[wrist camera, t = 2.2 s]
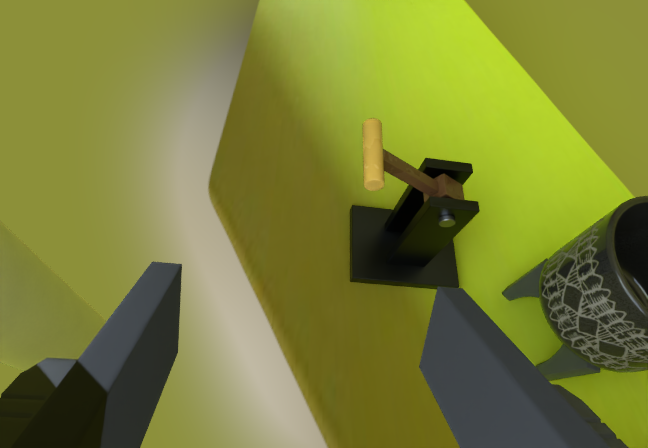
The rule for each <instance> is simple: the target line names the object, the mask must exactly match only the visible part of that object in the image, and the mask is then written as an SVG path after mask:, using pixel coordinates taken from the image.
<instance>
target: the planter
mask: <svg viewBox="0 0 648 448" xmlns="http://www.w3.org/2000/svg"><path fill="white" fill-rule="evenodd" d="M502 294H503V295H504V296H505V297H506V298H507V299H508V300H509V301H510V300H513V299H516V298H519V297H529V296H531V297H538V298H539V299H540V303H541V307H542V310H543V313H544V315H545V318H546V320H547V322H548V323H549V325H550V327H551V329H552V330H553V332H554V333H555V334H556V336H557V337H558V338H559V339H560V341H561V342H562V343H563V345H562V346H561V348H560V349H559V350H558V352H557V353H556V354H555V355H553V356H552V357H551V358H550V359H549V360H547V361H546V362H544V363H541V364H539V365H537V366H536V368H537V369H538V370H539V371H540V372H541V374H542V375H543V376H544V377H545V378H546V379H547V380H548V381H549V380H555V379H561V378H568V377H574V376H580V375H586V374H593V373H599V372H600V368H601V369H604V370H608V371H614V372H637V371H645V370H648V196H643V197H636V198H633V199H630V200H628V201H626V202H624V203H622V204H620V205H619V206H618V207H616V208H615V209H614V210H612V211H611V212H610V213H608V214H607V215H605V216H604V217H603V218H601V219H600V220H599V221H597V222H596V223H594V224H593V225H592V226H590V227H589V228H588V229H586V230H585V231H584V232H582V233H581V234H579V235H578V236H577V237H575V238H574V239H573V240H571V241H570V242H569V243H567V244H566V245H564V246H563V247H562V248H560V249H559V250H558V251H556V252H555V253H554V254H553V255H552V256H551V257H550V258H549V259H545V260H544V261H542V262H541V263H540V264H538V265H537V266H535V267H534V268H533V269H531V270H530V271H529V272H527V273H526V274H525V275H523V276H522V277H520V278H519V279H518V280H516V281H515V282H514V283H512V284H511V285H509V286H508V287H507V288H506V289H505V290H504V291H503V292H502Z"/></svg>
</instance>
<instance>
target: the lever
mask: <svg viewBox="0 0 648 448" xmlns="http://www.w3.org/2000/svg"><path fill="white" fill-rule="evenodd" d="M363 170H364V187H365V188H366V189H367V190H371V191H376V190H380V189H382V188H383V187H384V185H385V183H384V171H386V172H388V173H389V174H391V175H393V176H395V177H397V178H398V179H400V180H402V181H404V182H405V183H407V184H409V185H411V186H413V187H414V188H416V189H418V190H420V191H421V192H423V195H424V203H425V202H426V200H427V199H428V198H429V196H434V197H443V198H451V199H460V200H464V193H463V187H462V184H460V183H458V182H457V181H455V180H454V179H452V178H450V177H449V176H447V175H446V174H441V175H440V176H438V177H436V178H434V179H432V178H431V177H429V176H427V175H426V174H424V173H422V172H421V171H419V170H418V169H416V168H414V167H413V166H411V165H409V164H408V163H406V162H404V161H403V160H401V159H399V158H398V157H396V156H394V155H393V154H391V153H389V152H388V151H386V150H384V149H383V141H382V123H381V122H380V120H378V119H375V118H370V119H367V120H365V121H364V123H363Z"/></svg>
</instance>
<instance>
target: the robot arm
mask: <svg viewBox="0 0 648 448" xmlns="http://www.w3.org/2000/svg"><path fill="white" fill-rule="evenodd" d="M181 270H182V264H174V263H162V262H152V263H151V264H150V266H149V267H148V268H147V269H146V271H145V272H144V273H143V275H142V276H141V277H140V279H139V280H138V281H137V283H136V284H135V285H134V287H133V288H132V289H131V290H130V292H129V293H128V294H127V296H126V297H125V298H124V300H123V301H122V302H121V304H120V305H119V306H118V308H117V309H116V310H115V311H114V313H113V314H112V315H111V317H110V318H109V319H108V321H107V322H106V323H105V324H104V326H103V327H102V328H101V330H100V331H99V332H98V334H97V335H96V336H95V338H94V339H93V340H92V342H91V343H90V344H89V345H88V347H87V348H86V349H85V351H84V352H83V353H82V355H81V356H80V357H79V359H63V358H46V359H44V360H42V361H41V362H39V363H37V364H36V365H34V366H32V367H31V368H29V369H27V370H26V371H24V372H22V373H21V374H20V375H19V376H18V377H17V378H16V379H15V380H14V381H13V382H12V384H10V386H9V387H8V388H7V389H6V390H5V391H4V392H3V393H2V394H1V398H0V448H140V446H141V444H142V441H143V438H144V436H145V434H146V431H147V429H148V426H149V423H150V421H151V418H152V416H153V413H154V411H155V408H156V406H157V403H158V401H159V398H160V396H161V393H162V391H163V388H164V386H165V383H166V381H167V378H168V376H169V373H170V371H171V368H172V366H173V363H174V361H175V358H176V356H177V353H178V338H179V314H180V292H181ZM419 367H420V369H421V371H422V373H423V375H424V377H425V379H426V381H427V383H428V385H429V387H430V389H431V391H432V393H433V395H434V397H435V399H436V401H437V403H438V405H439V407H440V409H441V411H442V413H443V415H444V417H445V419H446V421H447V423H448V425H449V427H450V429H451V431H452V432H453V434H454V436H455V438H456V440H457V442H458V444H459V446H460V448H628V447H627V446H626V445H625V444H624V443H623V442H622V441H621V440H620V439H617V438H616V434H615V433H614V432H613V431H612V430H611V429H610V428H609V427H608V426H607V425H606V424H605V423H601V421H600V420H601V419H600V418H599V417H598V416H597V415H596V414H595V413H594V412H593V411H592V410H591V409H590V408H589V407H588V406H587V405H586V404H585V403H584V402H583V401H582V400H581V399H579V398H578V397H576V396H575V395H573V394H572V393H570V392H569V391H567V390H566V389H564V388H563V387H562V386H560V385H554V384H551V383H550V382H549V381H548V380H547V379H546V378H545V377H544V376H543V375H542V374H541V372H540V371H539V370H538V369H537V368H536V367H535V366H534V365H533V364H532V363H531V362H530V361H529V360H528V358H527V357H526V356H525V355H524V354H523V353H522V352H521V351H520V350H519V349H518V348H517V347H516V346H515V344H514V343H513V342H512V341H511V340H510V339H509V338H508V337H507V336H506V335H505V334H504V333H503V332H502V330H501V329H500V328H499V327H498V326H497V325H496V324H495V323H494V322H493V321H492V320H491V319H490V318H489V316H488V315H487V314H486V313H485V312H484V311H483V310H482V309H481V308H480V307H479V306H478V305H477V304H476V302H475V301H474V300H473V299H472V298H471V297H470V296H469V295H468V294H467V293H466V292H465V291H464V290H463V289H462V288H451V287H439V286H438V288H437V292H436V297H435V301H434V305H433V310H432V314H431V318H430V323H429V327H428V331H427V336H426V340H425V344H424V349H423V353H422V357H421V362H420V366H419Z"/></svg>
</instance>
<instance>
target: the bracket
mask: <svg viewBox="0 0 648 448" xmlns="http://www.w3.org/2000/svg"><path fill="white" fill-rule="evenodd" d="M418 170H419V171H421V172H422V173H424V174H426V175H427V176H429V177H431V178H432V179H434V178H436V177H438V176H440V175H441V174H446V175H447V176H449V177H450V178H452V179H454V180H455V181H457V182H458V183H460V184H462V185H463V184H464V183H465V182H466V180H467V179H468V178H469V177H470V175H471V174H472V173H473V169H472V164H470V163H462V162H454V161H446V160H438V159H431V158H425V160H424V161H423V163H422V164H421V166H420V168H419V169H418ZM479 211H480V210H479V205H478V202H477V201H468V200H460V199H451V198H443V197H434V196H429V198H428V199H427V200H426V202H425V203H424V195H423V192H421V191H420V190H418V189H416V188H414V187H413V186H411V185H408V187H407V189H406V190H405V192H404V193H403V195H402V197H401V198H400V200H399V201H398V203H397V205H396V206H395V208H394V210H391V209H382V208H373V207H364V206H355V205H352V207H351V209H350V282H361V283H372V284H384V285H395V286H407V287H419V288H430V289H437V288H438V286H439V287H451V288H459V282H458V274H457V266H456V259H455V251H454V243H453V238H454V237H455V236H456V235H457V234H458V233H459V232H460V231H461V230H462V229H463V228H464V227H465V226H466V225H467V224H468V223H469V222H470V220H471V219H472V218H473V217H474V216H475V215H476V214H477V213H478V212H479Z"/></svg>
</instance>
